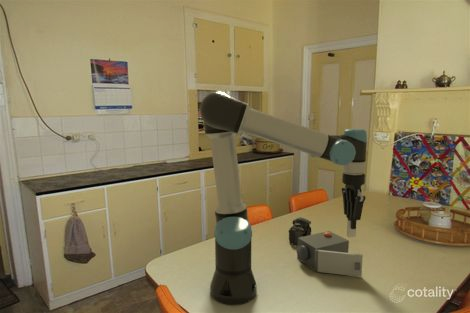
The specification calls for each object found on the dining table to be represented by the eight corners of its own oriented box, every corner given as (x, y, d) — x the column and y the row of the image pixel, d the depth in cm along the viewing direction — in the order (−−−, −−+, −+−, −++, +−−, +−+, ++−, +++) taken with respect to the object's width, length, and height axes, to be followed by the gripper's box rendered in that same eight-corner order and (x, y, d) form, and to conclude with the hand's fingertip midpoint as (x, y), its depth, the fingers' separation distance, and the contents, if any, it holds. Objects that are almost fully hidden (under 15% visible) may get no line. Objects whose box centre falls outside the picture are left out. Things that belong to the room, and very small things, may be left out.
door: (314, 272, 116) (315, 251, 115) (314, 269, 118) (315, 249, 117) (361, 278, 113) (362, 256, 111) (360, 275, 114) (362, 254, 113)
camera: (311, 246, 139) (312, 224, 137) (288, 244, 141) (288, 223, 139) (310, 234, 152) (311, 214, 150) (289, 233, 154) (289, 213, 152)
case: (310, 271, 118) (311, 247, 116) (293, 258, 128) (293, 236, 126) (347, 261, 126) (349, 238, 124) (328, 250, 135) (329, 228, 134)
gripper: (373, 176, 108) (370, 242, 111) (354, 168, 121) (352, 228, 124) (352, 177, 107) (350, 244, 110) (335, 169, 120) (333, 230, 123)
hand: (351, 236), depth 117 cm, fingers closed
